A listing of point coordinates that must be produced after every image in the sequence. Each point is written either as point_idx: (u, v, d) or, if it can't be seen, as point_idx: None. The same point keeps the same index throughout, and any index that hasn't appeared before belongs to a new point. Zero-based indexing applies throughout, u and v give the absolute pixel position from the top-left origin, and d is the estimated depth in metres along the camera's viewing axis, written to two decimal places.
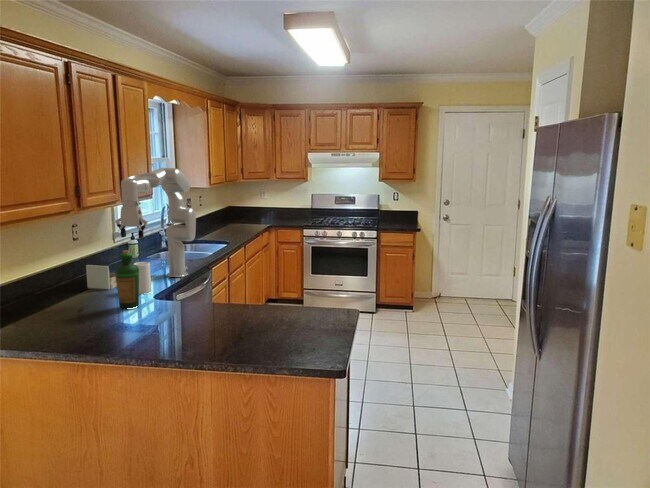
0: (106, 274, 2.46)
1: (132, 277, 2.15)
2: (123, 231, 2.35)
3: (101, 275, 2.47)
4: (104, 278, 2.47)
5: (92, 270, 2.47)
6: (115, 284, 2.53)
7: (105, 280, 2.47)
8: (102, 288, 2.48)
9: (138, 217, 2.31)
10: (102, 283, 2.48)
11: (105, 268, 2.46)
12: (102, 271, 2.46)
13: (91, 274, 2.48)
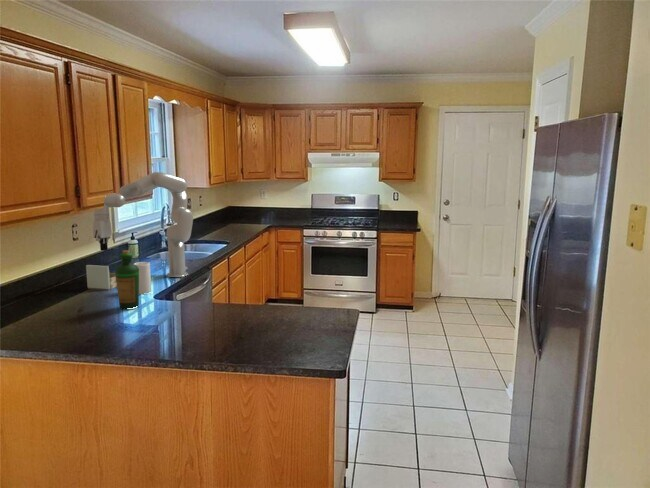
0: (106, 274, 2.46)
1: (132, 277, 2.15)
2: None
3: (101, 275, 2.47)
4: (104, 278, 2.47)
5: (92, 270, 2.47)
6: (115, 284, 2.53)
7: (105, 280, 2.47)
8: (102, 288, 2.48)
9: None
10: (102, 283, 2.48)
11: (105, 268, 2.46)
12: (102, 271, 2.46)
13: (91, 274, 2.48)
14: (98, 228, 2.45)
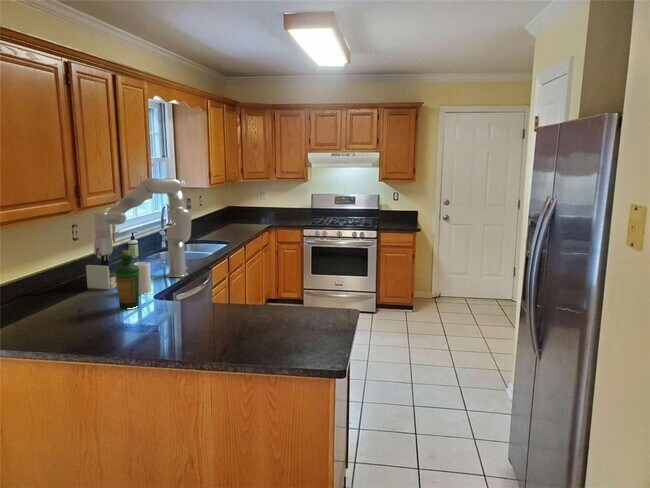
0: (106, 274, 2.46)
1: (132, 277, 2.15)
2: None
3: (101, 275, 2.47)
4: (104, 278, 2.47)
5: (92, 270, 2.47)
6: (115, 284, 2.53)
7: (105, 280, 2.47)
8: (102, 288, 2.48)
9: None
10: (102, 283, 2.48)
11: (105, 268, 2.46)
12: (102, 271, 2.46)
13: (91, 274, 2.48)
14: (99, 245, 2.47)
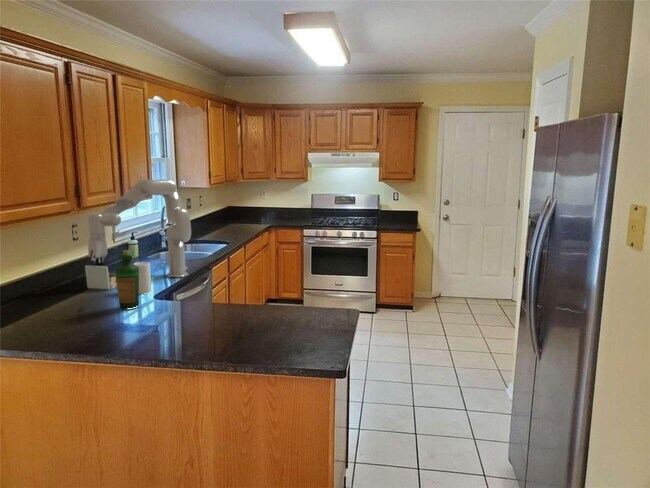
0: (105, 274, 2.46)
1: (132, 277, 2.15)
2: None
3: (100, 275, 2.46)
4: (104, 278, 2.47)
5: (91, 270, 2.47)
6: (115, 284, 2.53)
7: (104, 280, 2.47)
8: (102, 288, 2.48)
9: None
10: (102, 283, 2.47)
11: (104, 268, 2.45)
12: (101, 271, 2.46)
13: (90, 274, 2.47)
14: (93, 248, 2.42)
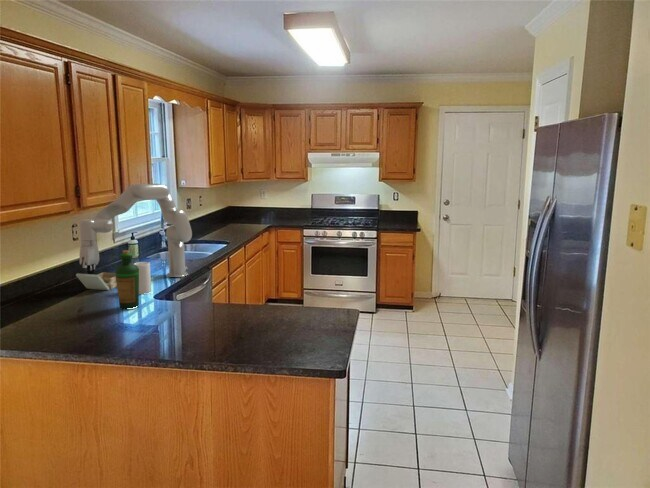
0: (100, 281, 2.41)
1: (132, 277, 2.15)
2: None
3: (95, 281, 2.43)
4: (99, 283, 2.43)
5: (84, 278, 2.42)
6: (115, 284, 2.53)
7: (101, 284, 2.44)
8: (102, 289, 2.48)
9: None
10: (100, 286, 2.46)
11: (96, 277, 2.39)
12: (94, 279, 2.41)
13: (85, 280, 2.43)
14: (85, 255, 2.36)
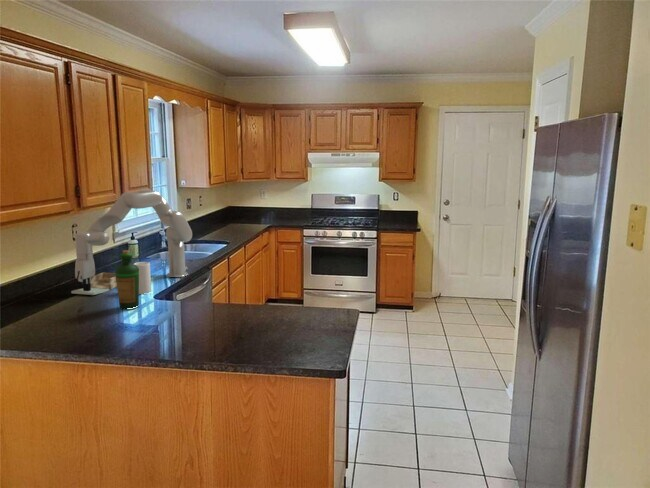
0: (97, 293, 2.40)
1: (132, 277, 2.15)
2: None
3: None
4: None
5: None
6: (115, 284, 2.53)
7: None
8: None
9: None
10: None
11: (92, 294, 2.37)
12: None
13: None
14: (80, 268, 2.33)
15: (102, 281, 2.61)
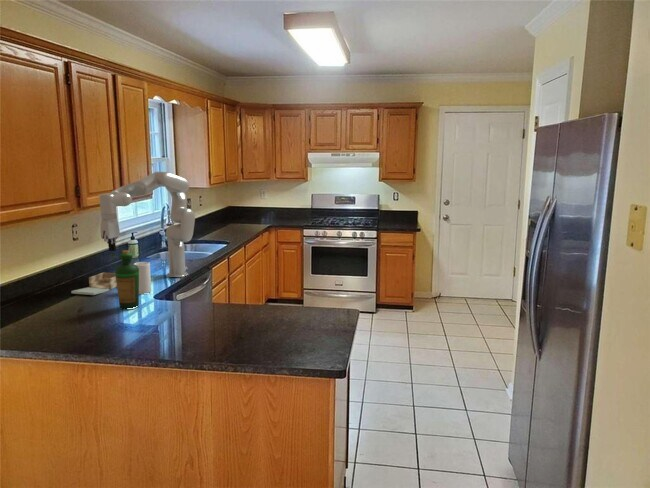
0: (97, 293, 2.40)
1: (132, 277, 2.15)
2: None
3: None
4: None
5: None
6: (115, 284, 2.53)
7: None
8: None
9: None
10: None
11: (92, 294, 2.37)
12: None
13: None
14: (106, 228, 2.39)
15: (102, 281, 2.61)
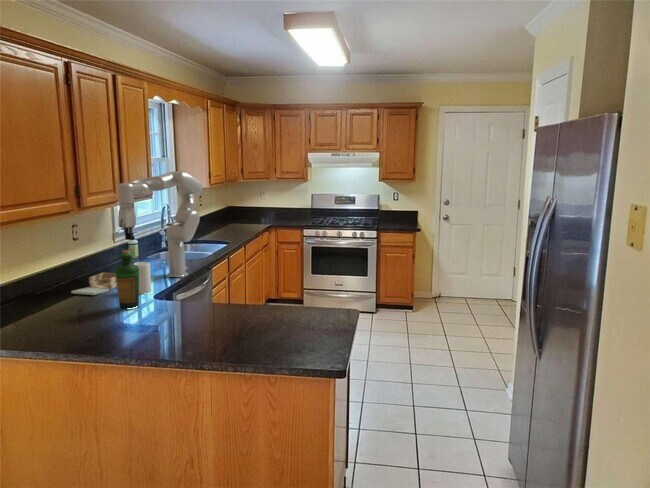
0: (97, 293, 2.40)
1: (132, 277, 2.15)
2: None
3: None
4: None
5: None
6: (115, 284, 2.53)
7: None
8: None
9: None
10: None
11: (92, 294, 2.37)
12: None
13: None
14: (123, 217, 2.45)
15: (102, 281, 2.61)
